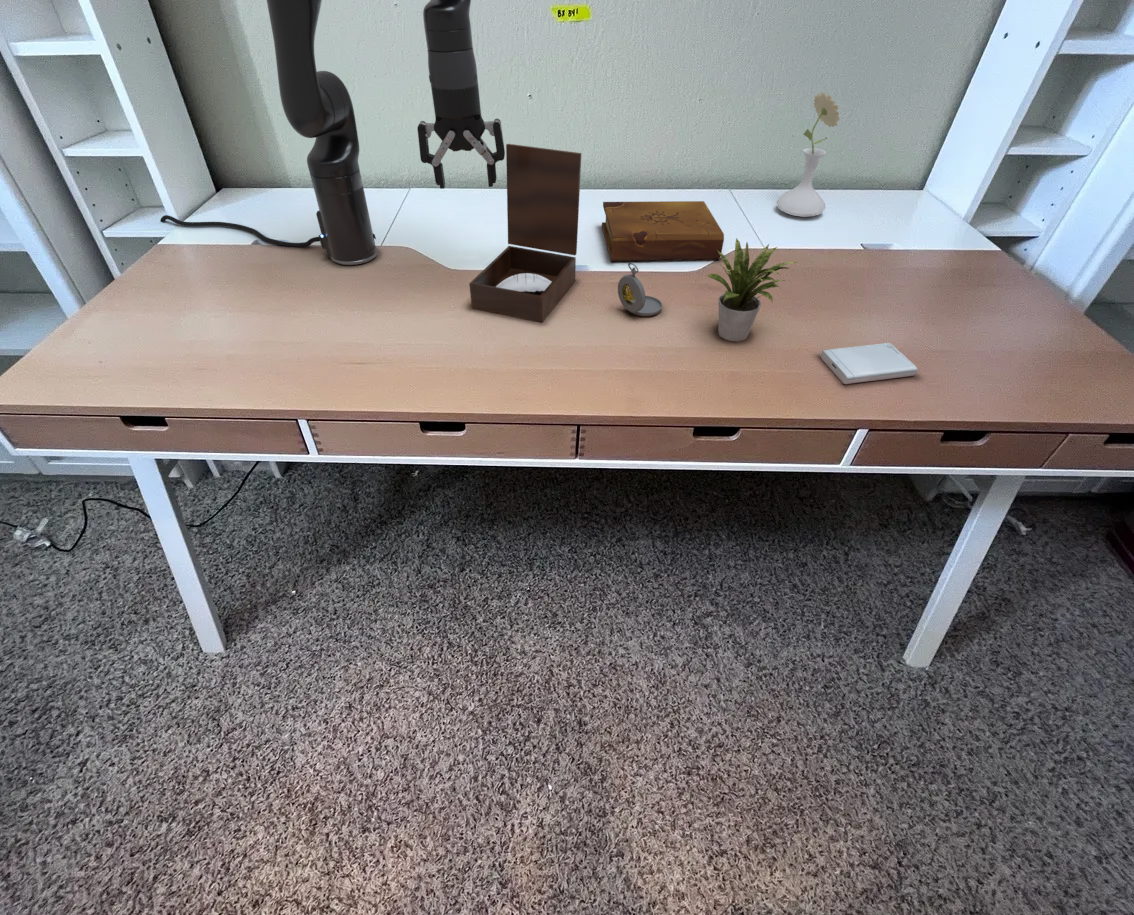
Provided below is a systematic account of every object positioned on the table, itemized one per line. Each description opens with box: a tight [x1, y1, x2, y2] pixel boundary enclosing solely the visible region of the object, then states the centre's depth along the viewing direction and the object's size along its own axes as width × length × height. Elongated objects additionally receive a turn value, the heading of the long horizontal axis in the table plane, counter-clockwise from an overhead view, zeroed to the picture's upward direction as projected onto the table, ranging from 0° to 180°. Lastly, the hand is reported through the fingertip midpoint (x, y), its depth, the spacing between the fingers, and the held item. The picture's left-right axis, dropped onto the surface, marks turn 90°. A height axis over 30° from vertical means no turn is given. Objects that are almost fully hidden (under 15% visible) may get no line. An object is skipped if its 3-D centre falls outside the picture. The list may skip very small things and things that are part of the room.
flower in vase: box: [775, 91, 840, 218], centre depth 143 cm, size 13×11×25 cm
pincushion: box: [496, 258, 552, 294], centre depth 117 cm, size 12×6×6 cm, turn 96°
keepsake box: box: [468, 245, 577, 324], centre depth 118 cm, size 17×14×5 cm
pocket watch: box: [617, 262, 663, 317], centre depth 112 cm, size 8×8×10 cm
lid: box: [505, 143, 582, 256], centre depth 117 cm, size 18×14×1 cm
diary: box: [601, 200, 725, 262], centre depth 135 cm, size 23×19×6 cm
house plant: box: [706, 238, 798, 342], centre depth 103 cm, size 14×14×16 cm
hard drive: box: [819, 342, 919, 385], centre depth 102 cm, size 2×8×12 cm
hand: (466, 186), depth 110 cm, fingers open, 8 cm apart
